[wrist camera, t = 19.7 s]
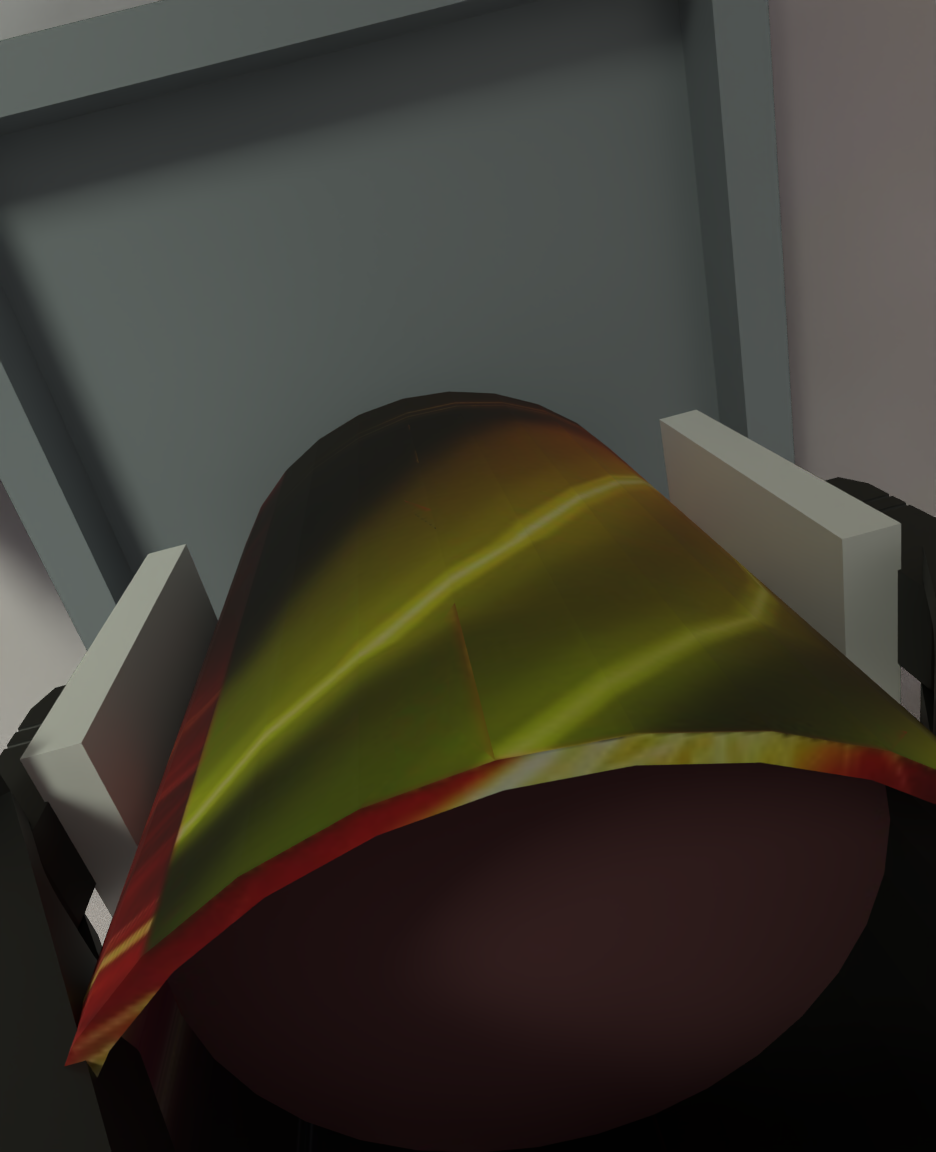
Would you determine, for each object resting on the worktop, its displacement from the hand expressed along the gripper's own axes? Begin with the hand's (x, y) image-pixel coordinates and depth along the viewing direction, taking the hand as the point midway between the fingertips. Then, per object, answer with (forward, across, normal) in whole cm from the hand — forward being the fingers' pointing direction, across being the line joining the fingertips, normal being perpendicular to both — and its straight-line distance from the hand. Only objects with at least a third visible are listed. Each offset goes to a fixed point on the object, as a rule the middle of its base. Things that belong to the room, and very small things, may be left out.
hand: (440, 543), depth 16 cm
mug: (+1, +1, -4) cm, 4 cm away
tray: (+3, 0, 0) cm, 3 cm away
